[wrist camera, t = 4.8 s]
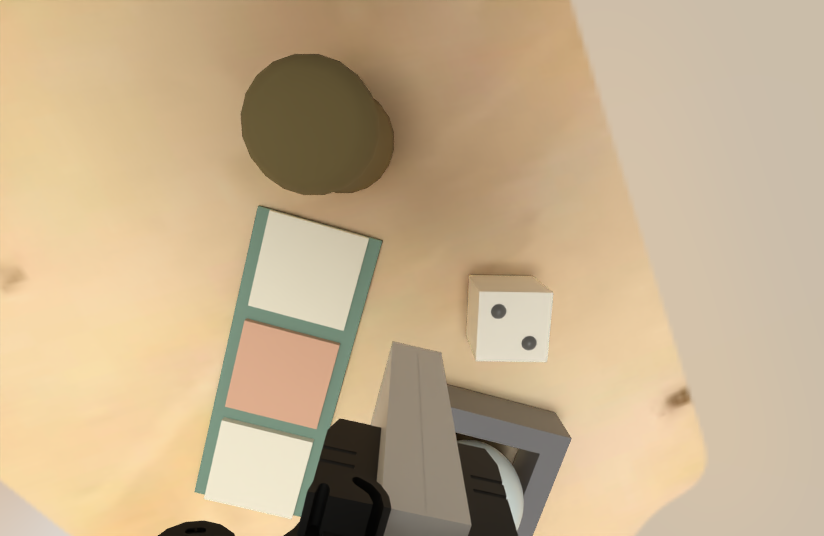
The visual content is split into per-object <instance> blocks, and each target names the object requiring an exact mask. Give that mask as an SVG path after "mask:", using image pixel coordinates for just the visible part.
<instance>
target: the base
mask: <svg viewBox="0 0 824 536" xmlns="http://www.w3.org/2000/svg"><path fill="white" fill-rule="evenodd" d="M447 388H448V394H449V399H450V405H451V411H452V416H453V422H454V428H455V432H456V433H460V434H464V435H468V436H472V437H476V438H479V439H483V440H487V441H491V442H495V443H499V444H503V445H507V446H511V447H515V448H519V449H518V452H517V455H516V457H515V460H514V463H513V465H512V466H513V467H514V469H515V471H516V473H517V475H518V477H519V479H520V482H521V486H522V490H523V498H524V508H523V515H522V519H521V522H520V525H519V528H518V530H517V533H518V536H533V533H534V531H535V528H536V526H537V523H538V521H539V518H540V516H541V513H542V511H543V508H544V506H545V503H546V501H547V498H548V496H549V493H550V491H551V488H552V486H553V483H554V481H555V478H556V476H557V473H558V471H559V468H560V466H561V463H562V461H563V458H564V456H565V453H566V451H567V448H568V446H569V444H570V441H571V439H572V438H571V437H570V435H569V434H568V432H567V430H566V429H565V427H564V426H563V424H562V422H561V421H560V419H559V418H558V416H557V414H556V413H554V412H551V411H547V410H543V409H539V408H535V407H532V406H528V405H524V404H520V403H516V402H512V401H509V400H505V399H501V398H497V397H493V396H490V395H486V394H482V393H478V392H474V391H470V390H467V389H463V388H459V387H455V386H451V385H448V384H447Z"/></svg>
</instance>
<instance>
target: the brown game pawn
mask: <svg viewBox="0 0 824 536" xmlns="http://www.w3.org/2000/svg"><path fill="white" fill-rule="evenodd" d="M241 124H242V136H243V139H244V142H245V144H246V147H247V149H248V152H249V154H250V157H251V158H252V159H253V161H254V162H255V163H256V164H257V166H258V167H259V168H260V169H261V171H262V172H263V173H264V175H265V176H266V177H268V178H269V179H271V180H272V181H274V182H275V183H276V184H278V185H279V186H281V187H282V188H284V189H287V190H290V191H293V192H296V193H299V194H303V195H325V194H328V193H331V192H335V193H353V192H356V191H359V190H362V189H365V188H367V187H369V186H370V185H371V184H373V183H374V182H375V181H377V180H378V179H379V178H380V177H381V176H382V174H383V173H384V171H385V170H386V169H387V167H388V166H389V163H390V160H391V157H392V153H393V150H394V132H393V129H392V126H391V123H390V120H389V117H388V115H387V114H386V112H385V111H384V109H383V108H382V107H381V105H380V104H379V102H377V101H376V100H375V99H373V98H372V95H371V93H370V92H369V90H368V89H367V87H366V86H365V85H364V83H363V82H362V80H361V79H360V78H359V76H358V75H357V74H355V73H354V72H353V71H352V70H350V69H349V68H348V67H346V66H345V65H344V64H342V63H341V62H340V61H337V60H334V59H331V58H328V57H325V56H322V55H319V54H294V55H291V56H288V57H285V58H282V59H279V60H277V61H274V62H272V63H271V64H270V65H269V66H268V67H266V68H265V69H264V70H263V71H261V72H260V73H259V74H258V75H257V76H256V77H255V79H254V81H253V82H252V84H251V86H250V87H249V89H248V90H247V92H246V94H245V99H244V103H243V107H242V111H241Z"/></svg>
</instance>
